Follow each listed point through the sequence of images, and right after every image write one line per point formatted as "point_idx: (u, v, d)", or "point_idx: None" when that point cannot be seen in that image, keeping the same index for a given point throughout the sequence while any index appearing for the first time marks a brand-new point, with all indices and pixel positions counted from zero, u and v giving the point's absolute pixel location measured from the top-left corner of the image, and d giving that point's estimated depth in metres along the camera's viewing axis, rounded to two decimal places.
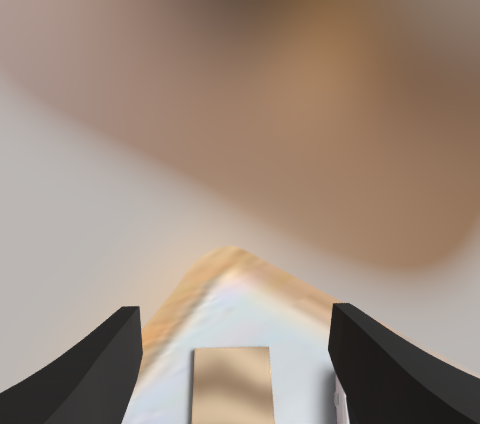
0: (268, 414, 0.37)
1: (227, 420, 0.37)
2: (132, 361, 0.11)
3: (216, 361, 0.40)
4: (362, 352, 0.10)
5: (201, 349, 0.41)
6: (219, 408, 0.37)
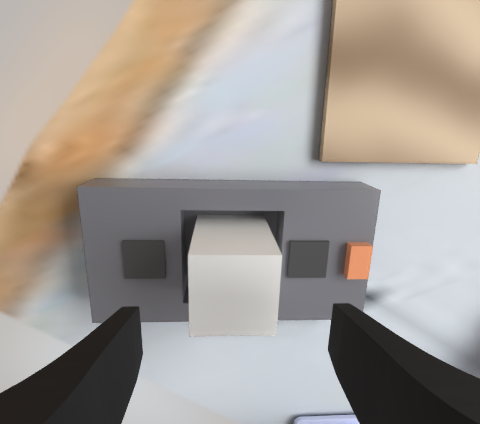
0: (474, 127, 0.19)
1: (393, 133, 0.18)
2: (132, 361, 0.11)
3: (387, 8, 0.17)
4: (362, 352, 0.10)
5: None
6: (382, 110, 0.18)
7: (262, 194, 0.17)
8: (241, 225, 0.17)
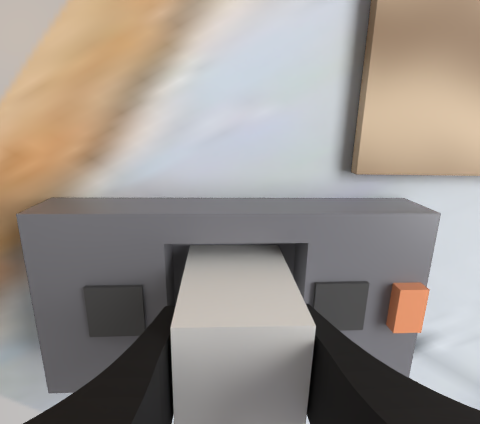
0: None
1: (453, 136, 0.14)
2: None
3: None
4: None
5: None
6: (439, 105, 0.13)
7: (278, 221, 0.12)
8: (249, 263, 0.13)
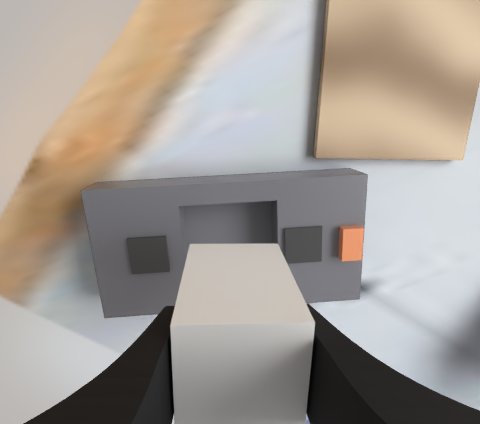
0: (460, 125, 0.20)
1: (383, 131, 0.20)
2: None
3: (376, 13, 0.18)
4: (312, 353, 0.10)
5: None
6: (372, 109, 0.19)
7: (255, 186, 0.18)
8: (249, 262, 0.13)
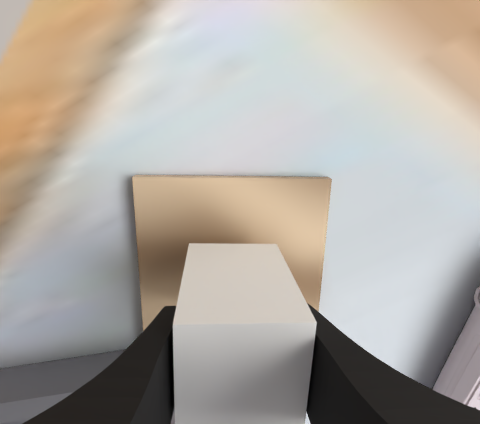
0: None
1: None
2: None
3: (191, 208, 0.16)
4: (313, 353, 0.10)
5: (150, 180, 0.15)
6: None
7: (49, 400, 0.16)
8: (249, 262, 0.13)
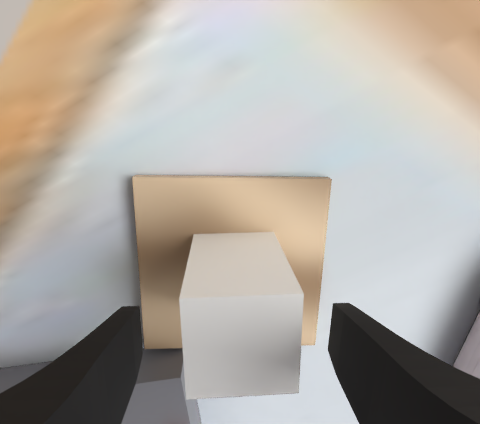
0: (306, 312, 0.18)
1: None
2: (132, 361, 0.11)
3: (191, 209, 0.16)
4: (362, 352, 0.10)
5: (150, 180, 0.15)
6: None
7: None
8: (247, 247, 0.14)
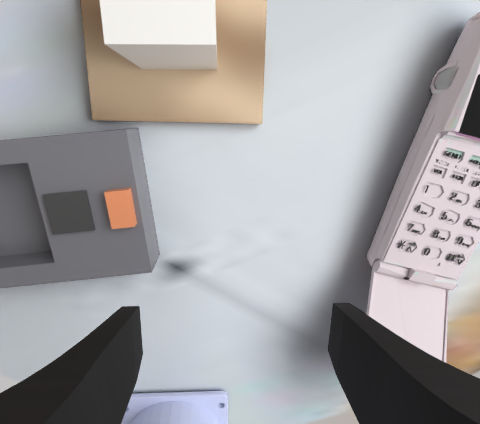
0: (252, 83, 0.18)
1: (165, 89, 0.18)
2: (132, 361, 0.11)
3: None
4: (362, 352, 0.10)
5: None
6: None
7: None
8: None
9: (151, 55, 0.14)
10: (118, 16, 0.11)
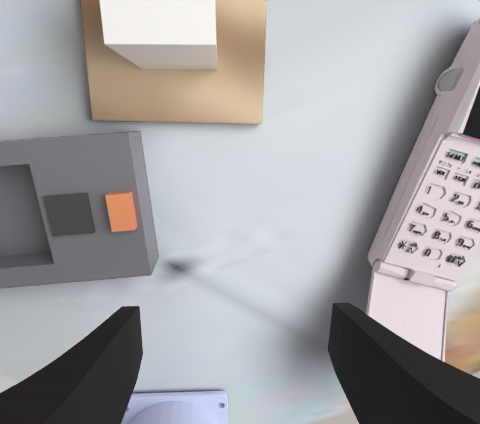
0: (252, 84, 0.18)
1: (165, 89, 0.18)
2: (132, 361, 0.11)
3: None
4: (362, 352, 0.10)
5: None
6: None
7: None
8: None
9: (151, 55, 0.14)
10: (118, 16, 0.11)
